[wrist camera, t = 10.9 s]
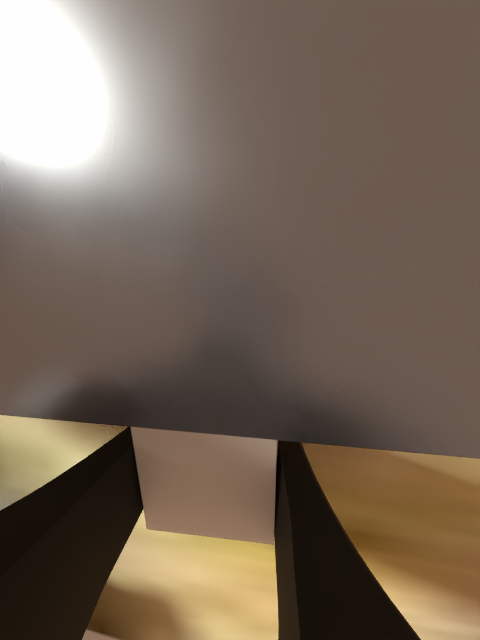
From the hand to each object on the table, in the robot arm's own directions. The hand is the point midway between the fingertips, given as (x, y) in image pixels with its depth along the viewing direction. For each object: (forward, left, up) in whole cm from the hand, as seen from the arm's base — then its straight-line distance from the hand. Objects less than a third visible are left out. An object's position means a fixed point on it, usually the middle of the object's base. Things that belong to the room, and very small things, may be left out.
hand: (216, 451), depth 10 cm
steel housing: (0, +7, -1) cm, 7 cm away
